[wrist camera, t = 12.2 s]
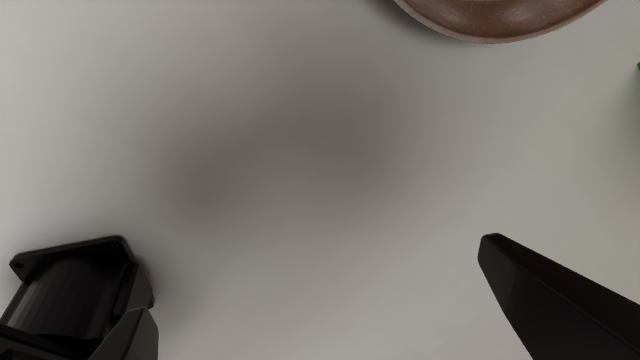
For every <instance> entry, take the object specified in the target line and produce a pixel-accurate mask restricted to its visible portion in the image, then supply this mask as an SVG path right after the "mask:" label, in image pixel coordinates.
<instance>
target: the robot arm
mask: <svg viewBox="0 0 640 360" xmlns="http://www.w3.org/2000/svg"><path fill="white" fill-rule="evenodd" d="M113 244H117V245H118V246H115V245H113ZM19 262H21V263H19ZM478 262H479V265H480V267H481V269H482V271H483V273H484V275H485V277H486V279H487V281H488V283H489V285H490V287H491V289H492V291H493V293H494V295H495V297H496V299H497V301H498V303H499V305H500V307H501V309H502V311H503V313H504V314H505V316H506V318H507V319H508V321H509V323H510V324H511V326H512V327H513V329H514V330H515V332H516V334H517V335H518V337H519V338H520V340H521V341H522V343H523V345H524V346H525V348H526V349H527V351H528V352H529V354H530V355H531V357H532V359H533V360H640V305H639V304H637V303H635V302H633V301H631V300H629V299H627V298H625V297H623V296H621V295H619V294H618V293H616V292H614V291H612V290H610V289H608V288H606V287H604V286H602V285H600V284H598V283H596V282H594V281H592V280H590V279H588V278H586V277H584V276H582V275H580V274H578V273H576V272H574V271H572V270H570V269H568V268H566V267H564V266H563V265H561V264H559V263H557V262H555V261H553V260H551V259H549V258H547V257H545V256H543V255H541V254H539V253H537V252H535V251H533V250H531V249H529V248H527V247H525V246H523V245H521V244H519V243H517V242H515V241H513V240H511V239H510V238H508V237H506V236H504V235H502V234H499V233H491V234H487V235H484V236H483V237H482V238H481V242H480V247H479V252H478ZM22 263H23V264H22ZM9 265H10V267H11V268H12V270H13V271H14V272H15V273H16V275H17V276H18V277H19V279H20V280H21V281H22V282H23V283H22V284H21V286H20V288H19V289H18V291H17V292H16V294H15V296H14V297H13V299H12V301H11V302H10V304H9V305H8V307H7V309H6V310H5V312H4V313H3V315H2V317H1V318H0V360H158V337H159V333H158V327H157V325H156V323H155V321H154V319H153V318H152V316H151V314H150V312H149V310H148V309H150V308H152V307H153V306H154V302H155V299H154V297H153V295H152V287H151V285H150V283H149V281H148V280H147V278H146V276H145V274H144V272H143V270H142V268H141V266H140V264H138V263H137V262H135V260H134V258H133V256H132V254H131V252H130V250H129V248H128V246H127V244H126V242H125V241H124V239H122V238H121V237H117V236H115V237H108V238H103V239H98V240H93V241H87V242H82V243H77V244H72V245H66V246H61V247H56V248H50V249H45V250H40V251H35V252H29V253H24V254H19V255H16V256H14V257H13V258H12V260H11V261H10V264H9Z"/></svg>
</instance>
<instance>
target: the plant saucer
mask: <svg viewBox="0 0 640 360" xmlns="http://www.w3.org/2000/svg"><path fill="white" fill-rule="evenodd" d="M394 1H395V2H396V3H397V4H398V5H399V6H400V7H401V8H402V9H403V10H404V11H406V12H407V13H408V14H409V15H411V16H412V17H413V18H414V19H416V20H417V21H419V22H421V23H422V24H424V25H426V26H427V27H429V28H431V29H433V30H435V31H437V32H439V33H441V34H444V35H446V36H449V37H452V38H456V39H460V40H463V41H468V42H474V43H488V44H495V43H509V42H515V41H521V40H526V39H531V38H534V37H537V36H540V35H543V34H546V33H549V32H552V31H554V30H557V29H559V28H561V27H563V26H565V25H567V24H569V23H571V22H573V21H575V20H577V19H579V18H581V17H582V16H584V15H585V14H587V13H589V12H590V11H592V10H593V9H595V8H597V7H598V6H600V5H601V4H603V3H604V2H605V1H607V0H394Z"/></svg>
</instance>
